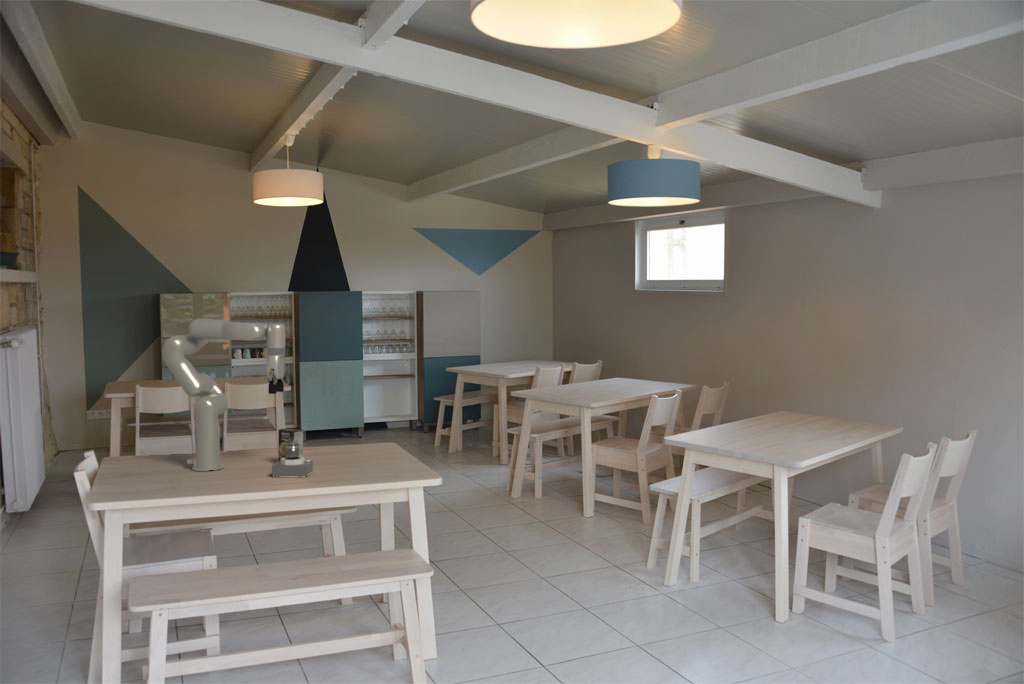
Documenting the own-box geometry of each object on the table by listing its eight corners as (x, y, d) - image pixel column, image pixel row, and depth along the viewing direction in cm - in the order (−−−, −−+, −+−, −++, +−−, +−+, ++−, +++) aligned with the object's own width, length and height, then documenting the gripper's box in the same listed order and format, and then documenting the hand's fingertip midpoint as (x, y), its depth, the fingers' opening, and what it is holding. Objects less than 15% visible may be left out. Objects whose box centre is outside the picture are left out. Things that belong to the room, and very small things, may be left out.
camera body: (272, 477, 310) (272, 460, 309) (279, 472, 320) (279, 456, 319) (306, 477, 310) (306, 460, 309) (312, 472, 320) (312, 456, 319)
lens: (284, 464, 312) (284, 444, 312) (288, 461, 317) (288, 442, 317) (296, 464, 312) (296, 444, 312) (300, 461, 317) (300, 442, 317)
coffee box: (277, 465, 335) (277, 429, 334) (288, 463, 341) (288, 427, 340) (293, 467, 331) (293, 430, 330) (303, 465, 336) (303, 429, 336)
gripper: (273, 351, 332) (273, 390, 332) (260, 353, 315) (260, 394, 315) (290, 351, 332) (290, 390, 332) (278, 353, 315) (278, 394, 315)
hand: (276, 392), depth 324 cm, fingers open, 9 cm apart
